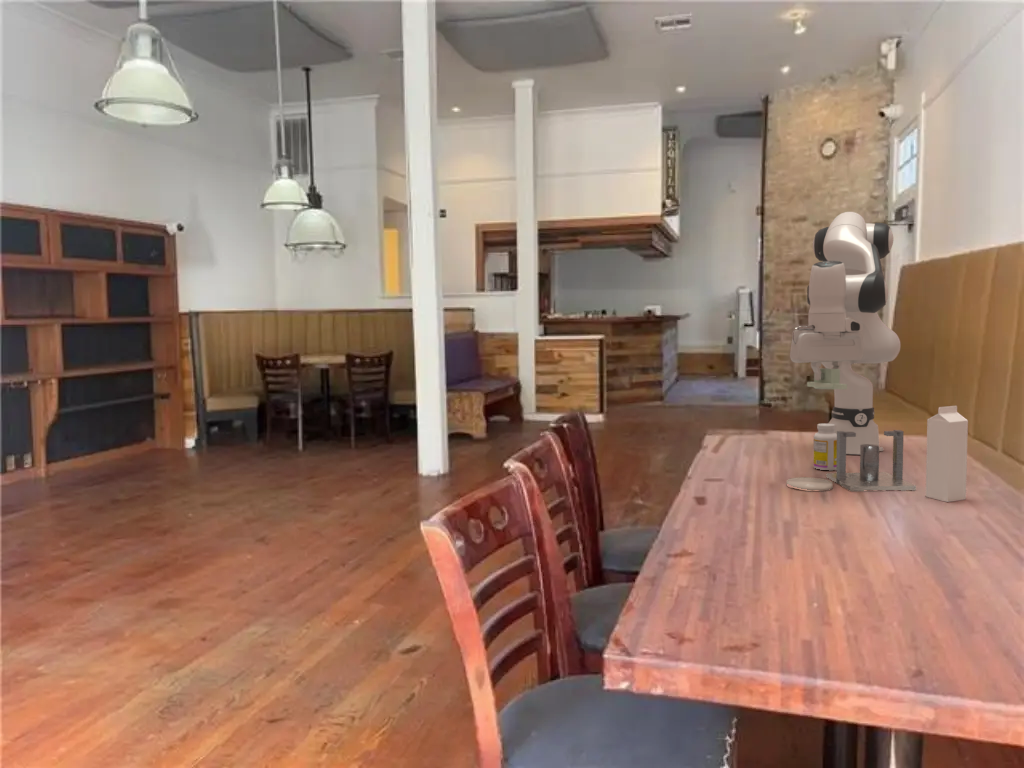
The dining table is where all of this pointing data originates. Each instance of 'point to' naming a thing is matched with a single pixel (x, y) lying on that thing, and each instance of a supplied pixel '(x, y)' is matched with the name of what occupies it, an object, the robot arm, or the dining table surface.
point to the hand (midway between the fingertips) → (826, 379)
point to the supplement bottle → (825, 447)
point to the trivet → (810, 483)
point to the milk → (946, 455)
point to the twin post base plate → (870, 466)
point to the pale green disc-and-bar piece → (828, 380)
